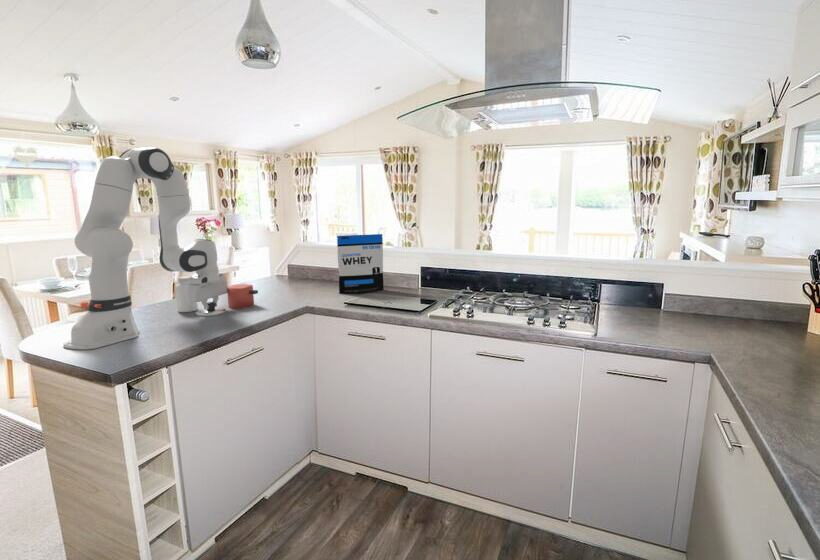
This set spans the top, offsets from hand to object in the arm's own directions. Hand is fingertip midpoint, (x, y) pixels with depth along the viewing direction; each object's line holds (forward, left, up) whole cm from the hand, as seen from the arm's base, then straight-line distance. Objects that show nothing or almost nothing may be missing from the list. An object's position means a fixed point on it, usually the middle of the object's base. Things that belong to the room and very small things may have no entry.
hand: (210, 308), depth 187 cm
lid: (0, 0, -2) cm, 2 cm away
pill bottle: (+1, +13, -2) cm, 13 cm away
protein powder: (+56, -48, -2) cm, 74 cm away
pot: (+14, -5, -2) cm, 15 cm away
